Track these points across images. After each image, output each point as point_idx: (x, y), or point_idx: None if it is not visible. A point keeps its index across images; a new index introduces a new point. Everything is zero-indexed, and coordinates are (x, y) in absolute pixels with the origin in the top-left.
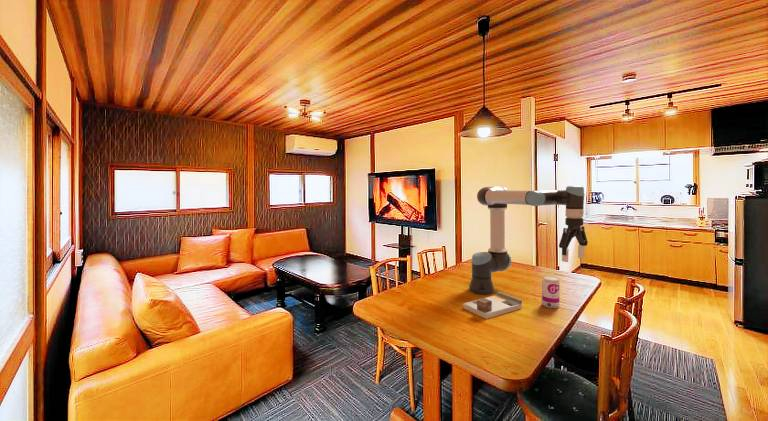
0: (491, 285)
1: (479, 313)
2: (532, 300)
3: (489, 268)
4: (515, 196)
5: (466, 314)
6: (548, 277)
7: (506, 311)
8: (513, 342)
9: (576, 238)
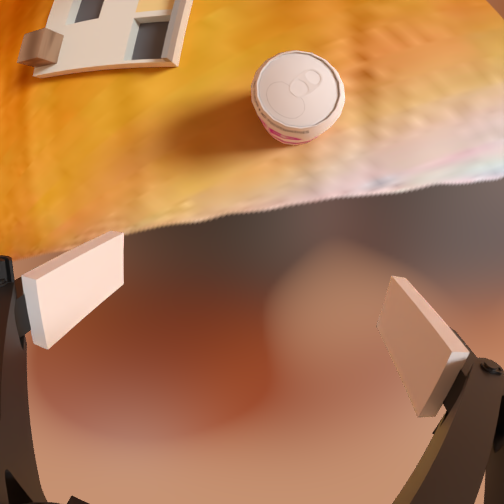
0: None
1: None
2: (292, 45)
3: None
4: None
5: None
6: (316, 67)
7: (104, 68)
8: (5, 199)
9: (438, 452)
